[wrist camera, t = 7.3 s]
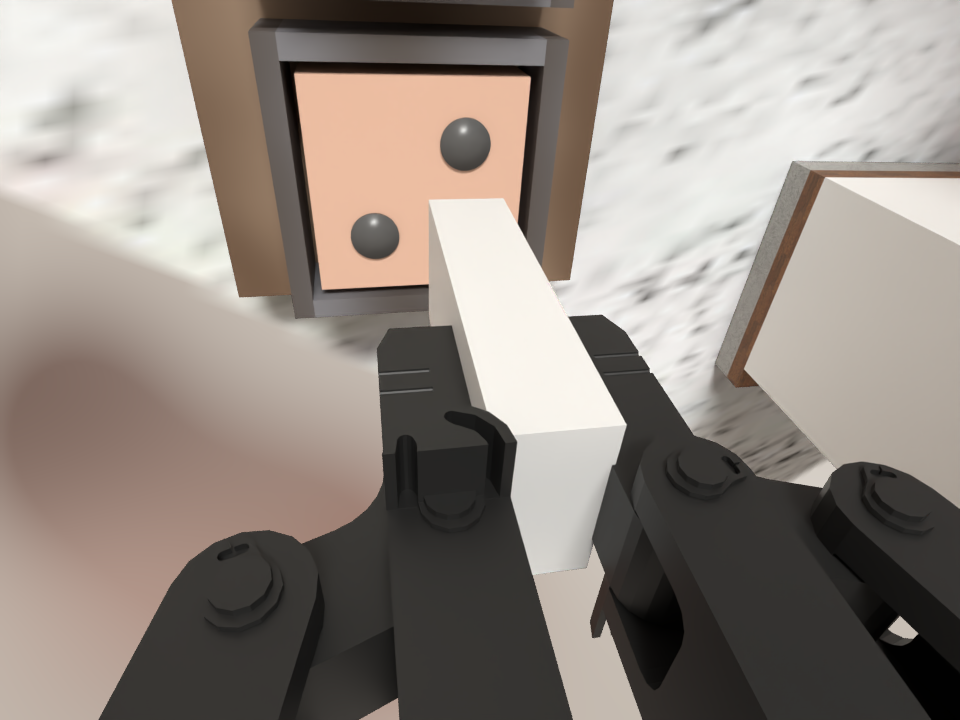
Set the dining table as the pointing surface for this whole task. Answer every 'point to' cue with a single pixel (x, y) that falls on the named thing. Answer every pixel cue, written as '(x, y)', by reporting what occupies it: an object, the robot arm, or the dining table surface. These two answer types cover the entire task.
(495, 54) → the button panel
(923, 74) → the dining table surface
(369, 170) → the button two dots
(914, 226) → the curved tiered shelf
